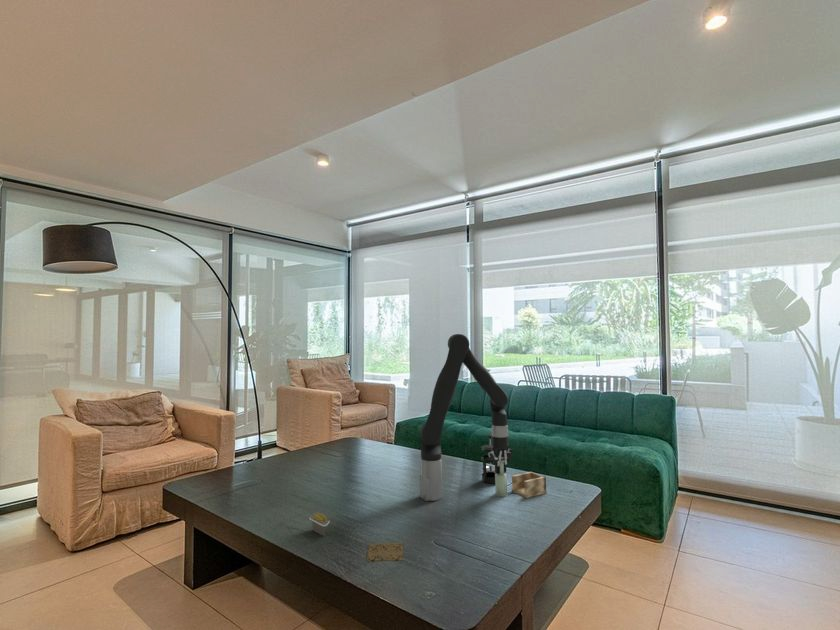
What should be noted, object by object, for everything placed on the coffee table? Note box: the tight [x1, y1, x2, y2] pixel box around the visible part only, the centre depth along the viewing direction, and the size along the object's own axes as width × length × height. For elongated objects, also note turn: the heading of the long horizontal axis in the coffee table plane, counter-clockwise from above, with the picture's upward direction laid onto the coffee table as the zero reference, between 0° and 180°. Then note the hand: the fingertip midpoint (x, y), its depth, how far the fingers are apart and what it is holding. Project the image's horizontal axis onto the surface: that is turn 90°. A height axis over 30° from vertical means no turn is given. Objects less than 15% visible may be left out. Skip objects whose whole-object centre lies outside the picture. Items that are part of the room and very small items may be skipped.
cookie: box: [366, 542, 404, 563], centre depth 142 cm, size 12×12×1 cm
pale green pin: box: [494, 459, 508, 498], centre depth 193 cm, size 5×5×16 cm
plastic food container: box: [309, 512, 330, 537], centre depth 158 cm, size 12×18×7 cm, turn 46°
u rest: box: [511, 471, 548, 499], centre depth 195 cm, size 12×10×7 cm
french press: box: [480, 433, 496, 486], centre depth 210 cm, size 12×9×23 cm
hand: (500, 472), depth 193 cm, fingers closed on pale green pin, 3 cm apart
